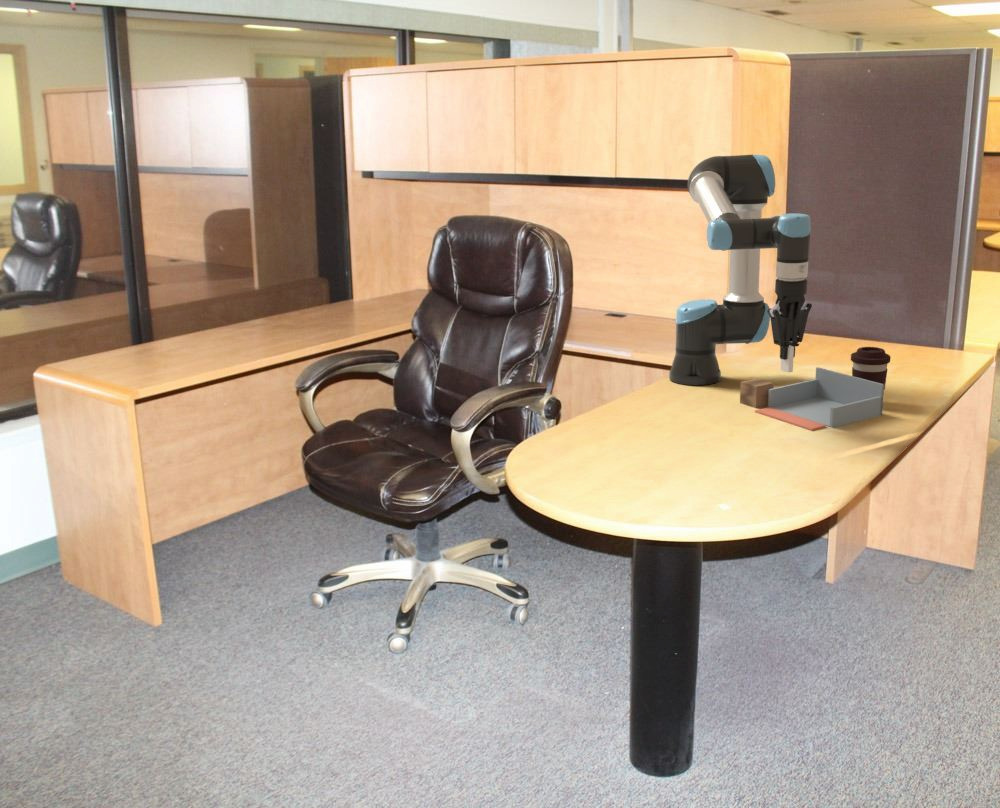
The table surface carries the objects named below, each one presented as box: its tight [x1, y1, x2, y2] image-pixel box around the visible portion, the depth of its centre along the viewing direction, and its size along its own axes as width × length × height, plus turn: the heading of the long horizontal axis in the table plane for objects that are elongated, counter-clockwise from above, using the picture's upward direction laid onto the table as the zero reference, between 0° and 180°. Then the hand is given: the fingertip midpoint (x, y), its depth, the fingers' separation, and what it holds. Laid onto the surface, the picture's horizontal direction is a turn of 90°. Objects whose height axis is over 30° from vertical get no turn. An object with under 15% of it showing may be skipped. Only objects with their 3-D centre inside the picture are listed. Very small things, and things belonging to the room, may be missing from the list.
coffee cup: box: [850, 346, 892, 390], centre depth 272 cm, size 10×10×15 cm
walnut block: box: [739, 377, 774, 409], centre depth 273 cm, size 6×6×7 cm
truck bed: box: [767, 366, 885, 429], centre depth 264 cm, size 22×18×9 cm
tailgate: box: [754, 406, 827, 432], centre depth 260 cm, size 20×1×5 cm
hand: (786, 370), depth 256 cm, fingers closed
